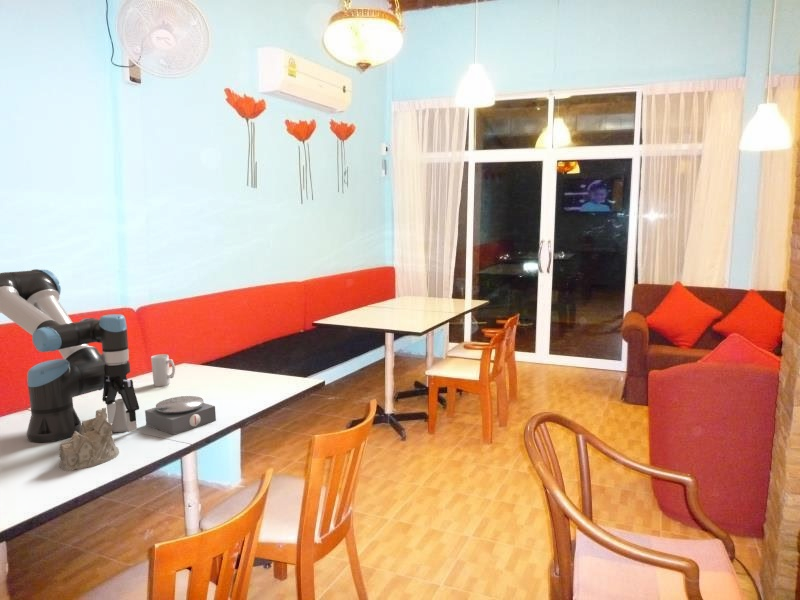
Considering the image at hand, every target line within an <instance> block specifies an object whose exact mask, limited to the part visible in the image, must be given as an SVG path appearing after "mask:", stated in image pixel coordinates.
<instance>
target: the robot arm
mask: <svg viewBox="0 0 800 600" xmlns="http://www.w3.org/2000/svg"><path fill="white" fill-rule="evenodd" d="M61 291H62V288H61V285H60V281H59V279H58V277H57V276H56V275H55V273H53V272H52V271H50V270H48V269H39V268H38V269H31V270H21V271H7V272H0V313H1V314H3V315H4V316H5V317H6V318H8V319H9V320H10V321H12V322H13V323H14V324H16V325H17V326H19V327H20V328H21V329H22V330H25V332H27V333H28V334H30V335H31V336H32V337H31V338H32V344H33V346H34V347H35V349H36V351H38V352H41V353H47V352H48V353H49V352H56V351H58V352H59V353H60V355H61V357H62V358H57V359H56V358H55V359H53V360H52V359H51V360H50V359H49V360H46V361H42V362H39V363H37V364H35V365H34V366H32V367H30V368H29V369H28V371H27V375H26V376H27V382H26V385H27V388H28V389H27V390H28V396H29V404H30V412H31V413H30V414H31V415H30V419H29V422H28V427H27V431H26V437H27V441H30V442H31V443H32V442H33V443H48V442H57V441H61V440H64V439H68V438H70V437H72V436H73V434H74V431H77V432H78V433H79V431H80V429H81V425H82V421H81V420H80V418H79V415H78V413H77V412H76V410H75V408H74V400H73V398H75V397H78V396H82V395H86V394H89V393H93V392H97V391H102V390H103V391H102V399H101V400H102V402H104V403H105V405H106V413H107V422H108V423H110V424H111V425H112V423H113V419H114V416H115V412H116V403H115V400H116V399H117V398H116V396H117V394H118V395H120V397H121V398H122V399H123V402H124V404H125V406H126V409H127V411H126V418H127V429H128V431H127V432H128V433H129V432H132V431H133V432H134V431H135V430H138V426H137V415H136V411H138V410H140V405H139V401H138V398H137V395H136V394H137V393H136V391H135V387H134V382H133V379H129V380H128V378H127V375H129V374H130V373H131V364H130V362H129V360H130V356H129V353H130V350H129V342H128V341H129V340H128V326H127V322H126V321H127V320H126V317H125V316H124V314H119V313H118V314H117V313H116V314H113V313H112V314H106V315H101V316H100V318H92V317H91V318H87V317H86V318H83V319H81V320H80V321H75V322H74V321H72V319H71V317H70V316H69V315H68V313H67V311H66V310H65V308H64V307H63V306H62V304H61V303H60V302H59V300H60V295H61ZM92 343H98V344H101V348H102V351H101V352H102V353H101V352H100V351H99V350H98V348H96V347H95V346H92V345H89V344H92Z"/></svg>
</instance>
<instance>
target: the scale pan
mask: <svg viewBox="0 0 800 600" xmlns="http://www.w3.org/2000/svg"><path fill="white" fill-rule="evenodd" d="M204 403H205V402H204V398H202V397H200V396H194V395H184V396H175V397H170V398H167V399H166V398H165V399H163V400H161V401H159V402H157V403H156V404H155V407H156V410H157V411H158V412H161V413H181V412H187V411H191V410H194V409H197V408H199V407H201V406H202V405H203V404H204Z"/></svg>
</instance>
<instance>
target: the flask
mask: <svg viewBox="0 0 800 600" xmlns="http://www.w3.org/2000/svg"><path fill="white" fill-rule="evenodd" d="M114 403H116V412H115V416H114V419H113V423H112V424H111V425H112V426H113V428H112V430H111V431H112V433H123V432H124V433H126V432H128V429H127V418H126V411H127V409H126V406H125V404H124V402H123V399H122V397H121V398H115V402H114Z"/></svg>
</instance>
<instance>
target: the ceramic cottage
mask: <svg viewBox="0 0 800 600" xmlns="http://www.w3.org/2000/svg"><path fill="white" fill-rule="evenodd" d="M112 428H113V426H112V424H110V423H108V413H107V407H103V408H101V409H97V410H96V411H95V417H94V418H89V419H87V420H82V421H81V429H80V431H79V433H78V432H77V431H74V434H73V436H71V439H70V440H69V441H63V442H61V443H60V446H59V456H58V458H60V460H61V461H60V462H59V464H58V465H59V468H61V469H62V470H63V471H66V472H69V471H71V472H72V471H73V470H74V471H75V470H76V469H77V470H81V469H85V468H92V467H95V466H99V465H102V464H103V463H106V462H110V461H111V460H114V459H116V458H117V457H118V456H119V454H120V450H119V447H118V446H117V445H116V443H115V440H114V439H113V437H112V435H113V432H112V431H111V430H112Z"/></svg>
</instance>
